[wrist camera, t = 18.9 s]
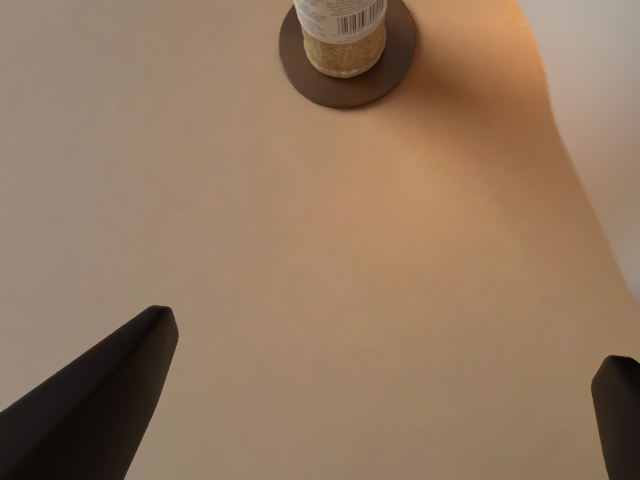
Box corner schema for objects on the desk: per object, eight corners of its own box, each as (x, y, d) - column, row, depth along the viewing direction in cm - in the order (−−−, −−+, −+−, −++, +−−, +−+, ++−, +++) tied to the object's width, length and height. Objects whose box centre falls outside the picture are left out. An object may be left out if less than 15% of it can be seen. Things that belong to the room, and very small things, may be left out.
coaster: (398, 119, 24) (398, 116, 24) (264, 94, 25) (263, 91, 25) (427, -7, 25) (428, -12, 25) (297, -26, 26) (296, -31, 26)
